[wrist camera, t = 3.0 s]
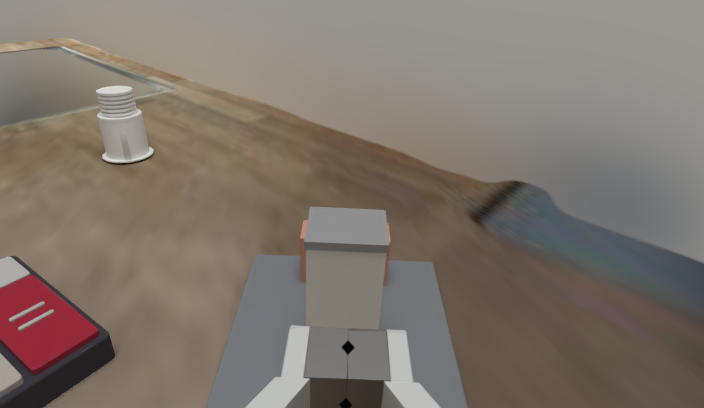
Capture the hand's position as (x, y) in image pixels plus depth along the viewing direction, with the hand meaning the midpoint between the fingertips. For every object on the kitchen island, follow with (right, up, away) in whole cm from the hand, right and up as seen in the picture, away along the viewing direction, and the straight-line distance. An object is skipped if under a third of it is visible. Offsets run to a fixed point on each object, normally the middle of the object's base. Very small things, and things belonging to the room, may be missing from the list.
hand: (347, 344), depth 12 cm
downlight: (-34, +11, +56) cm, 66 cm away
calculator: (-28, -9, +23) cm, 37 cm away
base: (-1, -8, +27) cm, 28 cm away
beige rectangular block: (-1, -8, +23) cm, 24 cm away
